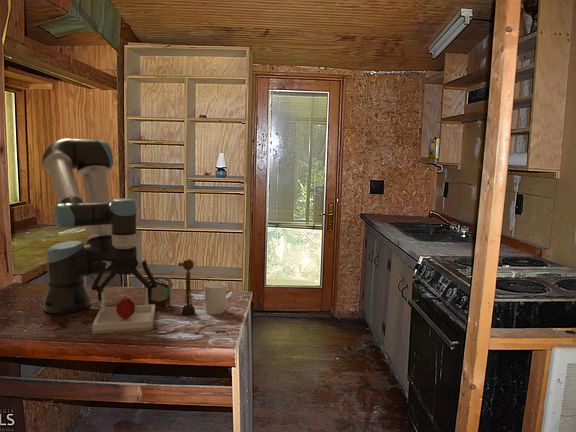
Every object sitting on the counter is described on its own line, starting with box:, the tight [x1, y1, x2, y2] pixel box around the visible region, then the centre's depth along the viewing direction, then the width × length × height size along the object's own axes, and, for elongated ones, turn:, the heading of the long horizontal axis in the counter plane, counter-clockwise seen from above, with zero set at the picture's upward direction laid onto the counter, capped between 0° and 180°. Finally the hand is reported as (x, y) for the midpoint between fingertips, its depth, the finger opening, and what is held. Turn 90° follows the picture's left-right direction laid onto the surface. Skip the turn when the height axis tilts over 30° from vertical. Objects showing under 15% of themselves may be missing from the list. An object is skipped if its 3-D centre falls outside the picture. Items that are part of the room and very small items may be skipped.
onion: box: [116, 296, 135, 320], centre depth 148 cm, size 6×6×8 cm
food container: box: [143, 276, 174, 310], centre depth 166 cm, size 12×6×10 cm, turn 65°
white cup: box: [203, 281, 227, 315], centre depth 161 cm, size 8×8×10 cm
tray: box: [91, 304, 156, 335], centre depth 149 cm, size 18×16×3 cm
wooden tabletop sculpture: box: [177, 258, 196, 317], centre depth 157 cm, size 6×5×20 cm
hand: (125, 308), depth 148 cm, fingers open, 13 cm apart
